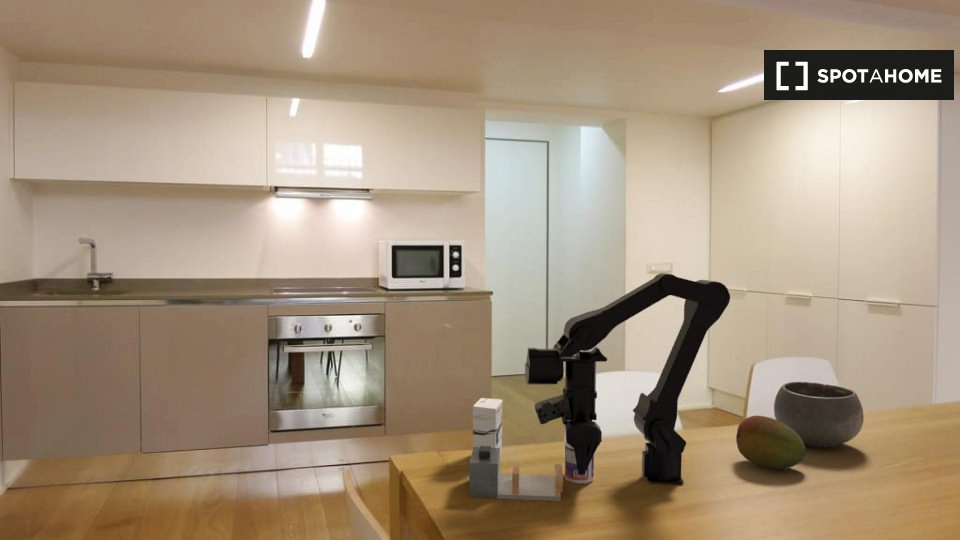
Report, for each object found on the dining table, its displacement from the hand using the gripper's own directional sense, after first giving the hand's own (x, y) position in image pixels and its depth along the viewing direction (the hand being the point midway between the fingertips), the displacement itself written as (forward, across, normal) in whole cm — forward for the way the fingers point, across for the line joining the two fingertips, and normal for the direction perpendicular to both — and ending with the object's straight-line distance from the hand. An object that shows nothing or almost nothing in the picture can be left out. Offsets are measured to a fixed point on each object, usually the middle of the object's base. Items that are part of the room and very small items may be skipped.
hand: (579, 465), depth 125 cm
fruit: (+3, -11, +39) cm, 41 cm away
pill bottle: (+3, 0, 0) cm, 3 cm away
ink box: (+3, -10, -18) cm, 21 cm away
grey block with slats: (+3, +6, -12) cm, 13 cm away
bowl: (+3, -27, +55) cm, 61 cm away
